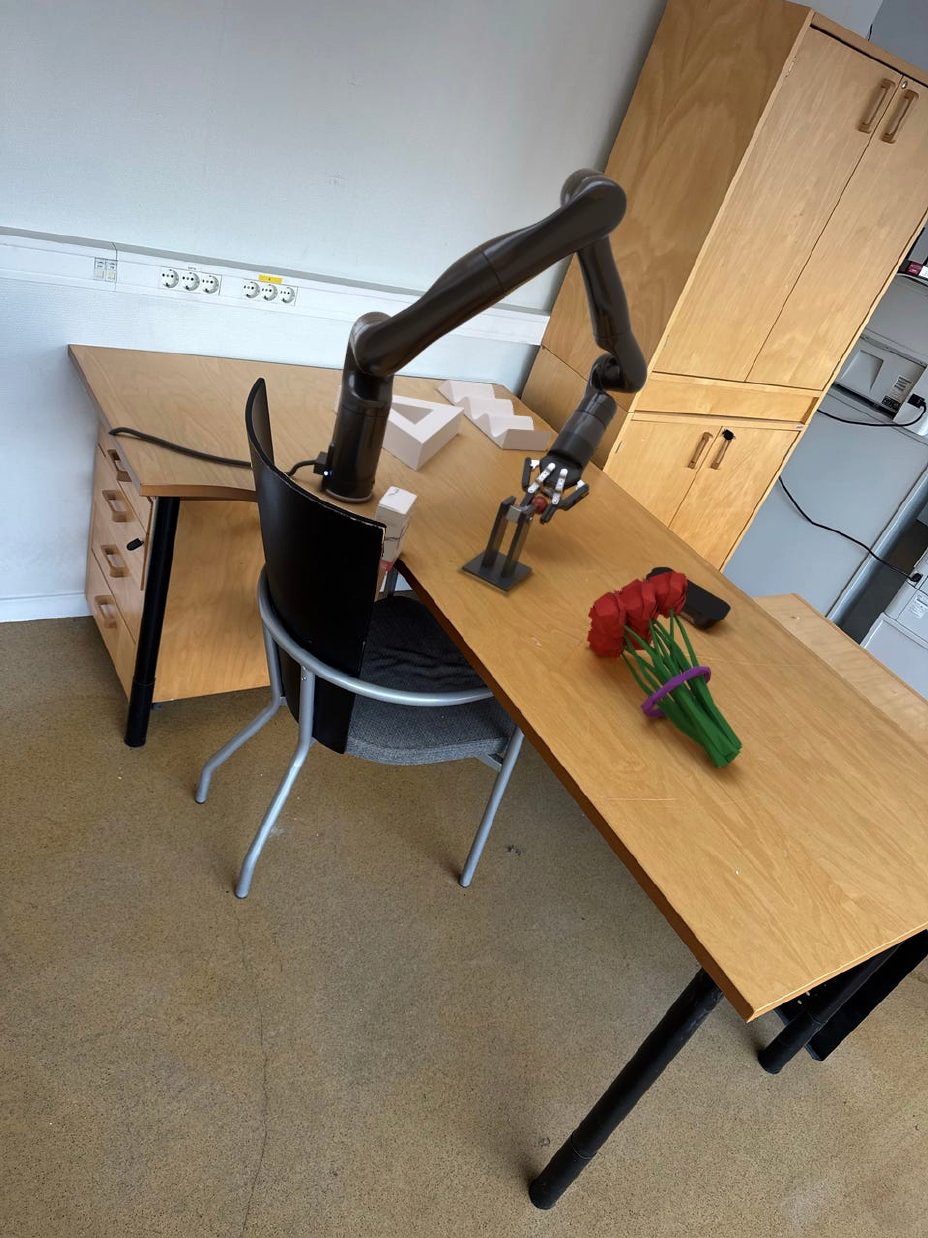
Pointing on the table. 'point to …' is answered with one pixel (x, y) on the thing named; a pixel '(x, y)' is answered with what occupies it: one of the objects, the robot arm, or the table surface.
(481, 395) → the file organizer
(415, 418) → the triangle block
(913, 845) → the table surface
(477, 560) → the bracket
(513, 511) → the lever
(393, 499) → the ink box
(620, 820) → the table surface
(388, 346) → the robot arm
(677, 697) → the bouquet
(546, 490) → the crumpled paper
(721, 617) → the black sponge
